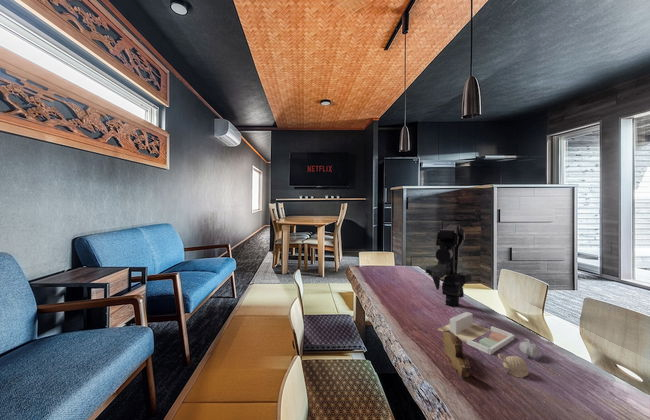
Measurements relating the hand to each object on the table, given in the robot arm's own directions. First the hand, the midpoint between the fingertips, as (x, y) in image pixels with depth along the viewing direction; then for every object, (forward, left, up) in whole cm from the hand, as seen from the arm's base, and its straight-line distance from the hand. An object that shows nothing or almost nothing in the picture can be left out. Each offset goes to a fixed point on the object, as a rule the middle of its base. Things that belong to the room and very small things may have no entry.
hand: (447, 292), depth 113 cm
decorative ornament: (+16, +32, -12) cm, 38 cm away
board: (+6, +11, -12) cm, 17 cm away
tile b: (+9, +22, -12) cm, 27 cm away
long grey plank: (+6, +10, -10) cm, 16 cm away
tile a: (+2, +22, -12) cm, 25 cm away
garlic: (+2, +31, -12) cm, 33 cm away
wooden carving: (+28, +21, -12) cm, 37 cm away
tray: (+6, +21, -12) cm, 25 cm away
